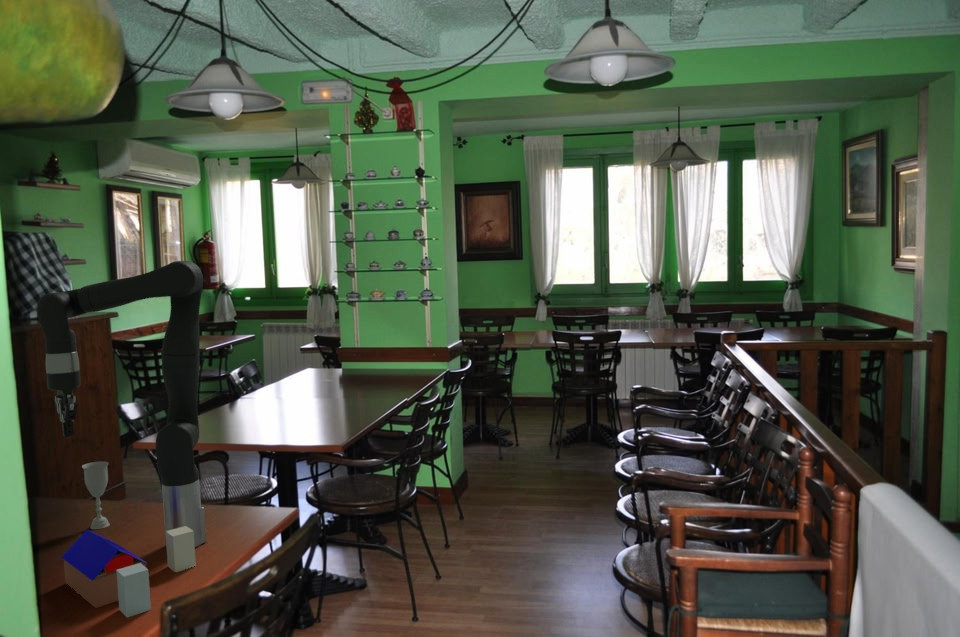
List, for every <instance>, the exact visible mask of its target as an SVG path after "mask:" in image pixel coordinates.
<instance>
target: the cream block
mask: <svg viewBox="0 0 960 637" xmlns="http://www.w3.org/2000/svg"><path fill="white" fill-rule="evenodd" d="M165 532H166V536H165V547H166V546H167V548H166V557H167V558H166V559H167V567H168V568H169V569H170V570H171V571H173V572H174V573H175V572H176V573H178V572H182V571H185V569H186V570H189V569H192V568H195V567H196V566H197V564H196V562H197V561H196V549H195V548H196V547H195V545H194V531H193V530H191V529H190V528H188V527H187V526H184V527H180V528H176V529H172V530H169V531H165V530H164V533H165ZM194 566H195V567H194ZM191 567H192V568H191ZM188 568H189V569H188Z"/></svg>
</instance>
